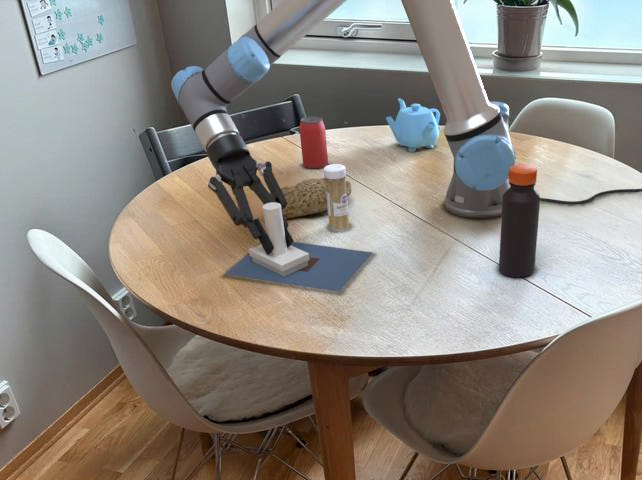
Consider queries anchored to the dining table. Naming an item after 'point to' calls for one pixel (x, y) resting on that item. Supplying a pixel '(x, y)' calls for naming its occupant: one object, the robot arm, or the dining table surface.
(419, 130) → the teapot
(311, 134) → the beer can
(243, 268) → the mat
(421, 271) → the dining table surface
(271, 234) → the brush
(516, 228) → the vinegar
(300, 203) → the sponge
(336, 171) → the sprinkles bottle
